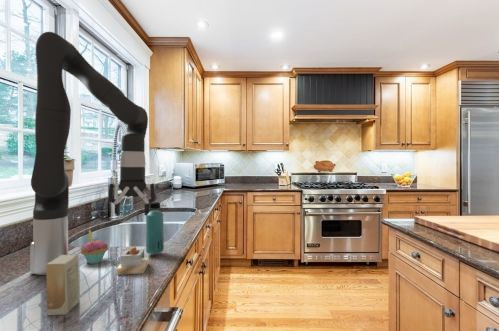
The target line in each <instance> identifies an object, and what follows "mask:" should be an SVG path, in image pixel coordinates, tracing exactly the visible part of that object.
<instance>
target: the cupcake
mask: <svg viewBox="0 0 499 331" xmlns="http://www.w3.org/2000/svg"><path fill="white" fill-rule="evenodd" d="M88 235H89V241H88V242H85V243H84V245H82V246H81V248H80V253H81V255H83V256H84V258H85V260H86V263H87V264H89V265H90V264H98V263H100V262H103V259H104V256H105V254H106V252H107V251H108V250H109V245H108V243H107V242H104V241H103V240H100V239H99V240H97V239H96V240H93V235H92V231H91V229H90V228H89V229H88Z"/></svg>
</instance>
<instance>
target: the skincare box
mask: <svg viewBox="0 0 499 331" xmlns="http://www.w3.org/2000/svg"><path fill="white" fill-rule="evenodd" d="M79 273H80V271H79V254H68V255H60V256H59V257H57V258H55V259H54V260H52V261H51V262H49V263H48V264H46V315H47V316H65V315H67V314H68V313H69V312H70V311H71V310H72V309H73V308H74V307H75V306H76V305H77V304H78V303H79V302H80V282H79V281H80V279H79V278H80V275H79Z"/></svg>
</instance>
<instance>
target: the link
mask: <svg viewBox="0 0 499 331" xmlns="http://www.w3.org/2000/svg"><path fill="white" fill-rule="evenodd" d="M144 258H145V248H142V249H141V248H140V249H136V254H131V255H130V249H125V250H124V251H123V253H122V254H121V255H120V263H121V267H131V266H141V264H142V263H143V261H144Z"/></svg>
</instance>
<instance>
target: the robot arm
mask: <svg viewBox="0 0 499 331" xmlns="http://www.w3.org/2000/svg"><path fill="white" fill-rule="evenodd" d="M35 62H36V104H35V113H34V114H35V115H34V116H35V118H34V121H35V122H34V130H35V131H34V133H35V134H34V136H35V138H34V139H35V156H34V157H35V158H34V163H33V169H32V173H31V177H30V178H31V179H30V186H31V188H32V189H31V190H33V192H34V207H33V211H32V217H33V218H32V219H33V220H32V223H33V224H32V226H33V227H32V228H33V230H32V232H33V241H32V242H31V243H30V245H29V247H30V248H29V252H30V253H29V257H30V258H29V260H30V261H29V263H30V275H31V274H32V275H34V274H35V275H38V276H45V275H46V264H48V263H49V262H51V261H52V260H54V259H55V258H57V257H59V256H60V255H69V205H70V204H69V202H70V201H69V199H70V198H69V194H70V193H69V188H70V187H69V186H70V184H69V183H70V182H69V181H70V180H69V176H68V175H67V173H66V171H65V152H66V146H67V142H68V139H69V134H70V130H71V129H70V127H71V114H72V108H71V104H70V101H69V97H68V94H67V92H66V90H65V87H64V83H63V82H64V81H63V70H64V71H65V72H66V73H68V74H70V75H72V76H73V77H75V78H76V79H77V80H79V82H80V83H82V85H83V86H84V87H85V88H86V89H87V90H88V92H89V93H90V94H91V95H92V96H93V97H94V98H96V100H98V101H99V102H100V103H102V105H104V106H105V107H107V109H109V111H110V112H111V113H112V114H113V115H114V116H115V117H116V118H117V120H119V121H120V122H121V123H123V124H125V125H126V132H125V133H124V134H122V136H121V142H120V143H121V144H120V145H121V148H120V150H121V151H120V152H121V153H120V157H119V158H120V160H119V161H120V162H119V165H120V166H119V168H120V169H119V170H120V171H119V173H120V174H119V177H120V178H119V183H115V182H113V183H110V184H109V185H108V197H107V198H108V199H107V200H108V201H107V202H109V203H113V204H114V215H116V216H117V217H119V216H121V214H122V211H121V207H122V204H121V202H122V200H123V199H124V198H125V197H126V198H131V197H134V198H137V197H140V198H141V199H142V201H143V202H144V216H146V215H148V213H149V212H150V211H151V209H150V203H151V202H156V200H157V194H156V193H157V192H156V184H155V183H154V182H153V183H147V182H146V155H145V154H146V153H145V152H146V151H145V148H146V146H145V145H146V144H145V137H146V135H147V128H148V124H149V123H148V122H149V117H148V113H147V110H146V109H145V108H143V107H142V106H139V105H137V104H136V103H135V102H133V101H131V100H130V99H129V98H128V97H127V96H125V93H124V92H123V91H122V90H121V89H120V88H119V87H118V86H116V85H115V83H113V82H111V81H110V80H109V79H108V78H106V76H104V75H103V74H101V73H100V72H99V71H97V70H96V69H95V68H94V66H92V65H91V64H90V63H89V62H88V61H87V59H85V57H84V56H83V55H82V54H81V53H80V52H79V50H78V49H77V48H76V47H75V46H74V44H72V43H71V42H70V41H68V39H66V38H64V37H62V36H61V35H59V34H57V33H55V32H54V31H53V32H52V31H46V32H45V31H44V32H43V33H41V34H40V35H39V36H38V38H37V39H36V43H35ZM118 189H119V190H120V191H121V192H120V194H119V195H118V196H117V197H116V196H115V195H116V191H117V190H118ZM146 189H148V190H149V191H150V198H149V197H148V195H147V193H146V192H145V190H146ZM115 197H116V198H115ZM46 276H47V275H46Z"/></svg>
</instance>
